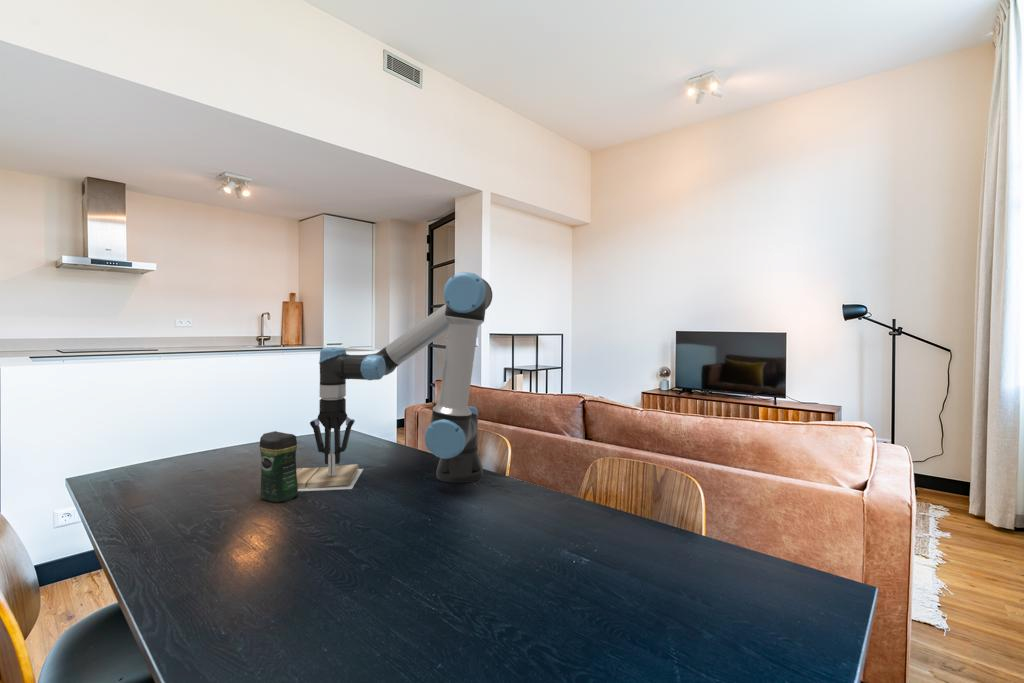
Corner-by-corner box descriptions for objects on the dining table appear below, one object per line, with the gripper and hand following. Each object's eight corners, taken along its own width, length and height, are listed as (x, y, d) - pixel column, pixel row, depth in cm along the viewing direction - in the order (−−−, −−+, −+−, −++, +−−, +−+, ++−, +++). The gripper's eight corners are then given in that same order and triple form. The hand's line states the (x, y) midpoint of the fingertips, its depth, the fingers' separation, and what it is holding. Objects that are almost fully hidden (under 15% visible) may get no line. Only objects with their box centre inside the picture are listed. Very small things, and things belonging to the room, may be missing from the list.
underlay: (363, 469, 158) (363, 468, 158) (352, 489, 138) (352, 488, 138) (285, 472, 155) (285, 471, 155) (262, 493, 135) (262, 492, 135)
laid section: (319, 472, 154) (319, 467, 154) (305, 488, 138) (305, 483, 138) (284, 473, 153) (284, 468, 153) (265, 490, 137) (265, 484, 137)
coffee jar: (303, 495, 133) (302, 431, 132) (278, 505, 126) (276, 438, 125) (281, 489, 137) (279, 427, 136) (255, 499, 130) (254, 433, 129)
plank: (358, 468, 156) (358, 464, 156) (348, 484, 140) (348, 479, 140) (320, 472, 154) (320, 467, 154) (307, 488, 138) (306, 483, 138)
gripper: (357, 396, 147) (357, 469, 148) (313, 396, 145) (312, 471, 146) (353, 399, 140) (352, 477, 141) (306, 400, 138) (305, 478, 139)
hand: (332, 474), depth 143 cm, fingers closed
